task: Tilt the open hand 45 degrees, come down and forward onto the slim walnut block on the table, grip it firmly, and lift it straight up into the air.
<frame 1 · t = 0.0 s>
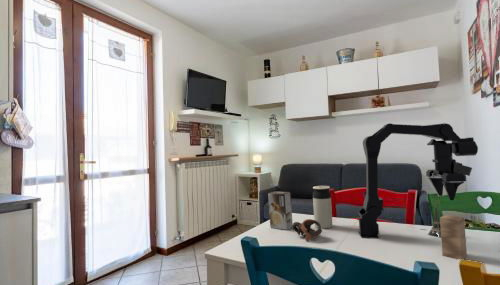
hand: (446, 197, 105), 15 cm above the table, tool pointing down, fingers open, 9 cm apart
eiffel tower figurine: (439, 237, 107), on the table
coffee box: (281, 227, 129), on the table
travel mug: (323, 226, 126), on the table
walnut block: (454, 255, 88), on the table
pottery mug: (307, 238, 112), on the table
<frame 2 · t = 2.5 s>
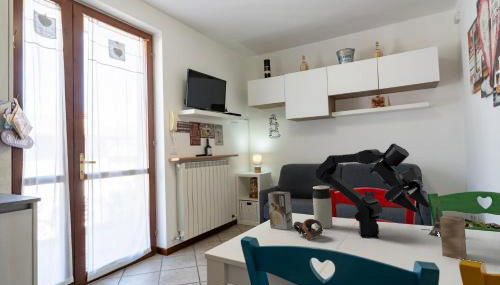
hand: (423, 209, 94), 13 cm above the table, tool tilted 45°, fingers open, 9 cm apart
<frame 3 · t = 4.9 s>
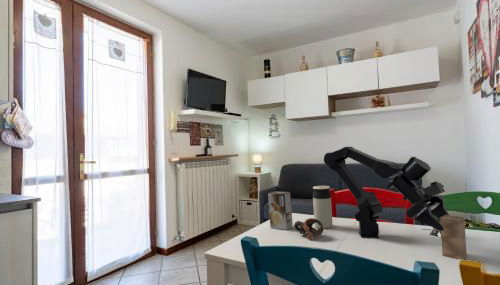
hand: (448, 227, 89), 9 cm above the table, tool tilted 45°, fingers open, 9 cm apart
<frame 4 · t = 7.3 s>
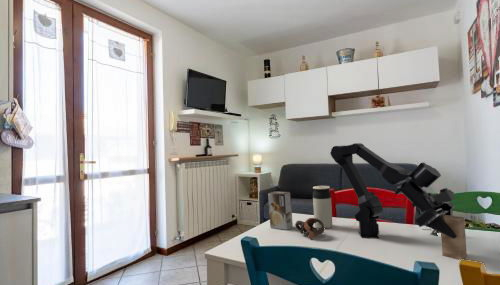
hand: (458, 235, 87), 7 cm above the table, tool tilted 45°, fingers closed on walnut block, 5 cm apart
walnut block: (454, 255, 88), on the table, touching gripper
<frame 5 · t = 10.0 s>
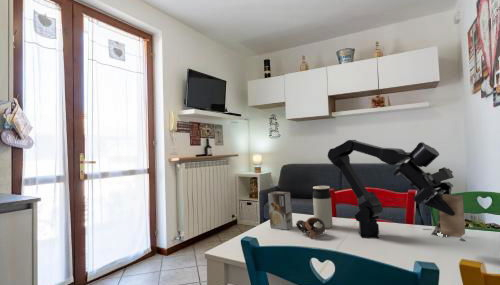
hand: (456, 213, 87), 13 cm above the table, tool tilted 45°, fingers closed on walnut block, 5 cm apart
walnut block: (452, 233, 88), point 7 cm above the table, touching gripper
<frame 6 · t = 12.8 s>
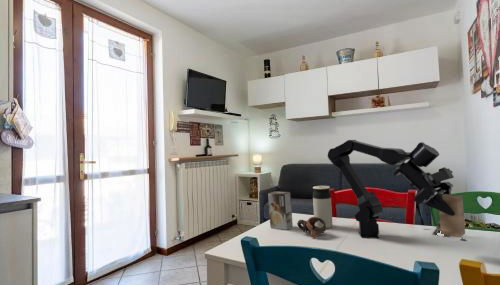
hand: (456, 213, 87), 13 cm above the table, tool tilted 45°, fingers closed on walnut block, 5 cm apart
walnut block: (452, 233, 88), point 7 cm above the table, touching gripper
at the end: the gripper is holding walnut block; walnut block point 6.9 cm above the table; walnut block tilted 0° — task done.
